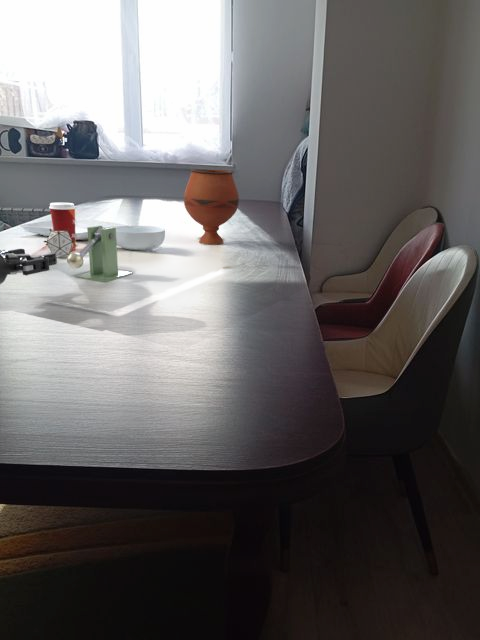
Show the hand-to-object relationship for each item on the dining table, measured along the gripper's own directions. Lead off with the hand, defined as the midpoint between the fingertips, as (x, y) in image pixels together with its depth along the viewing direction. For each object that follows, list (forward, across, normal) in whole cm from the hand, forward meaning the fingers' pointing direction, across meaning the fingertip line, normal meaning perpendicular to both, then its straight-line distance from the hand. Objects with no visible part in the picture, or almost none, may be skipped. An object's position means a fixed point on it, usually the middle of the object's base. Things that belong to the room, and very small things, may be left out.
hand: (39, 256), depth 108 cm
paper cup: (+44, +33, +9) cm, 56 cm away
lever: (+16, 0, +2) cm, 16 cm away
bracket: (+20, 0, +9) cm, 22 cm away
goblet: (+85, +4, +9) cm, 86 cm away
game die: (+35, +27, +9) cm, 45 cm away
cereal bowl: (+57, +15, +9) cm, 60 cm away
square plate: (+68, +50, +9) cm, 85 cm away
